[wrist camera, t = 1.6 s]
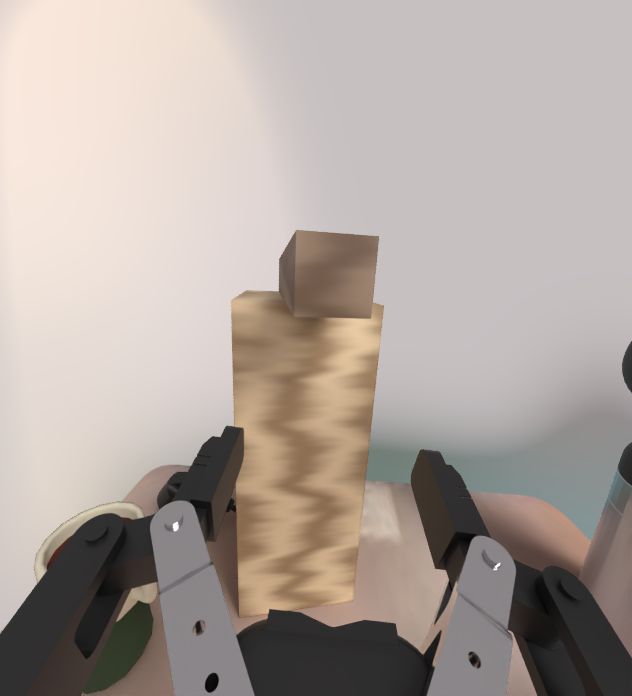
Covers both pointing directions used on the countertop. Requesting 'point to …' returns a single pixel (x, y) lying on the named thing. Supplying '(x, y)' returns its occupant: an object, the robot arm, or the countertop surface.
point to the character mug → (134, 615)
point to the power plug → (172, 488)
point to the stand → (300, 450)
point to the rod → (329, 274)
